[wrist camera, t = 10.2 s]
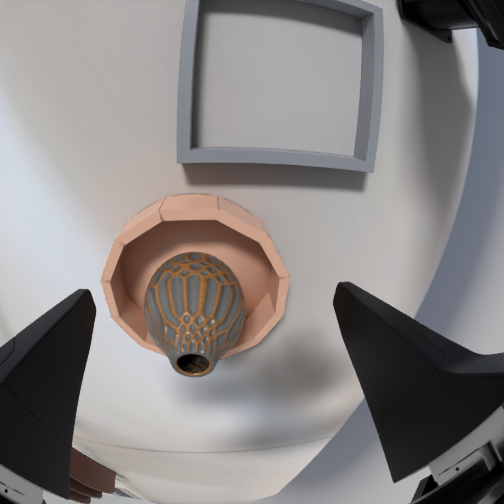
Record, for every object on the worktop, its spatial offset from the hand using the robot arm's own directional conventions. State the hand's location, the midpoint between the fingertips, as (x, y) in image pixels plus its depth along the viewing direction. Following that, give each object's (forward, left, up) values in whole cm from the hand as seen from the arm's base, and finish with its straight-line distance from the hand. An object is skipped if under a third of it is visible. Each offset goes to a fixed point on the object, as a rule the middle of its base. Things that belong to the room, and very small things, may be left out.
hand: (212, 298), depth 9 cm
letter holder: (+39, +64, -12) cm, 76 cm away
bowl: (+1, +6, -11) cm, 13 cm away
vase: (+1, +6, -11) cm, 13 cm away
